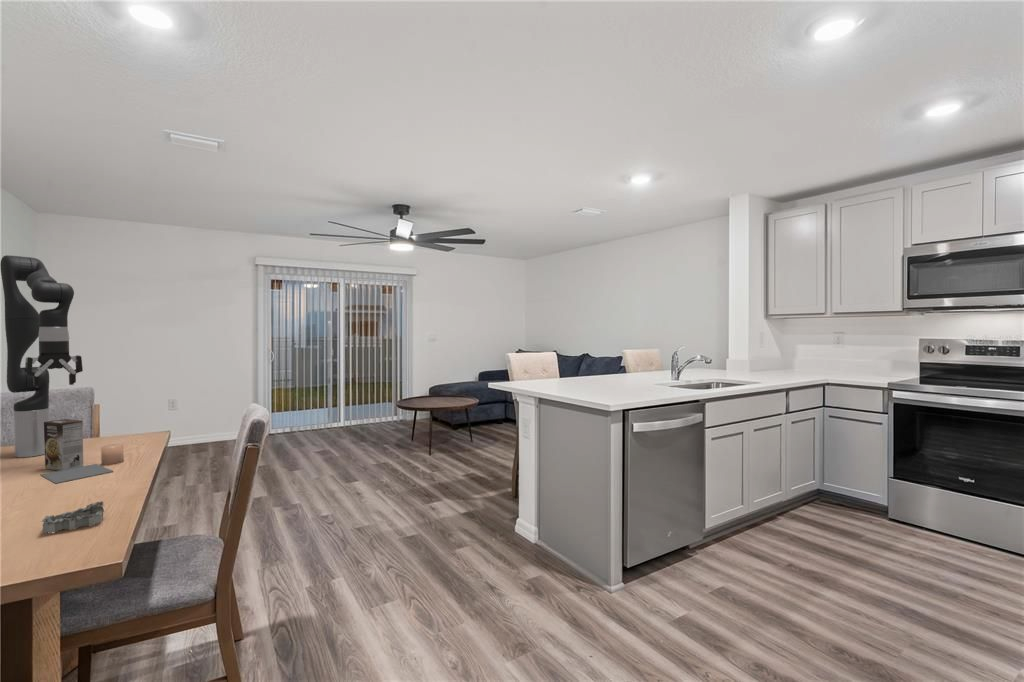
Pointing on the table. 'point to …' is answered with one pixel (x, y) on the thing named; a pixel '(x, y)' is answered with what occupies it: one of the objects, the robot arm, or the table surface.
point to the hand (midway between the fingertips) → (55, 385)
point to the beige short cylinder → (112, 454)
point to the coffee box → (63, 444)
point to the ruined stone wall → (74, 518)
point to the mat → (76, 473)
